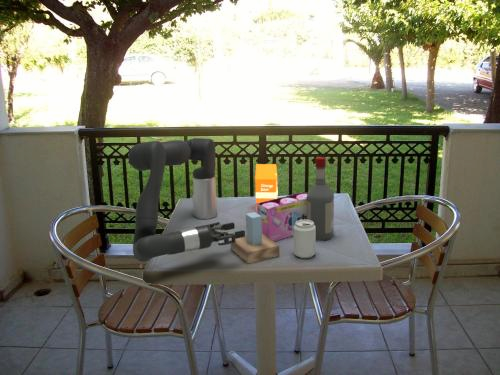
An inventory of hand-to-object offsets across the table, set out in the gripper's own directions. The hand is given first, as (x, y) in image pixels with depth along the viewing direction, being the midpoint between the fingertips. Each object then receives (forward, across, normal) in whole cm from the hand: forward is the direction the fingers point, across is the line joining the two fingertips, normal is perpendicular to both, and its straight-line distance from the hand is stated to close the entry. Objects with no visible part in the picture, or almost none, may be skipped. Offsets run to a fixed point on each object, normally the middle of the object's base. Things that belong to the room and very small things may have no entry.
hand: (239, 229), depth 177 cm
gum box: (+24, +10, +10) cm, 28 cm away
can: (+20, -10, +10) cm, 24 cm away
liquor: (+34, +1, +10) cm, 35 cm away
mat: (+5, +19, +10) cm, 22 cm away
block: (+6, 0, +6) cm, 8 cm away
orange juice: (+31, +39, +10) cm, 51 cm away
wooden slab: (+6, 0, +10) cm, 11 cm away
